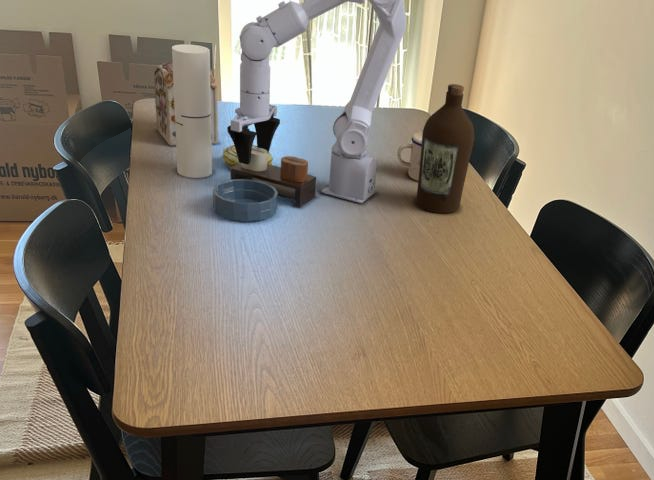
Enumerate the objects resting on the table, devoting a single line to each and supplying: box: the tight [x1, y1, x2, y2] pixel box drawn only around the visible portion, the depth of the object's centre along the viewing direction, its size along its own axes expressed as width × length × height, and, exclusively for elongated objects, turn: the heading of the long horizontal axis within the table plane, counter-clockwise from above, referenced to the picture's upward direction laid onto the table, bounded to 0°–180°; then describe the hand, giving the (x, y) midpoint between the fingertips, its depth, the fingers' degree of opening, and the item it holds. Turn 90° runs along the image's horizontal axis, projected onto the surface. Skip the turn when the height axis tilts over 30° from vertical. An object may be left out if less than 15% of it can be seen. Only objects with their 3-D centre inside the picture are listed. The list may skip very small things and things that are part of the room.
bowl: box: [212, 179, 279, 222], centre depth 147 cm, size 12×12×4 cm
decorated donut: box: [222, 144, 274, 169], centre depth 166 cm, size 10×11×4 cm
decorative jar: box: [153, 61, 219, 147], centre depth 173 cm, size 12×12×18 cm
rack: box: [230, 163, 317, 209], centre depth 155 cm, size 16×7×4 cm, turn 69°
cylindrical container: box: [171, 43, 213, 179], centre depth 154 cm, size 7×7×25 cm
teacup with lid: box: [396, 131, 423, 182], centre depth 172 cm, size 12×9×12 cm
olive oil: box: [415, 83, 475, 214], centre depth 155 cm, size 11×11×25 cm
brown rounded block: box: [280, 155, 309, 182], centre depth 152 cm, size 6×4×4 cm
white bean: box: [241, 145, 268, 171], centre depth 154 cm, size 6×4×4 cm
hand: (253, 157), depth 154 cm, fingers open, 7 cm apart
